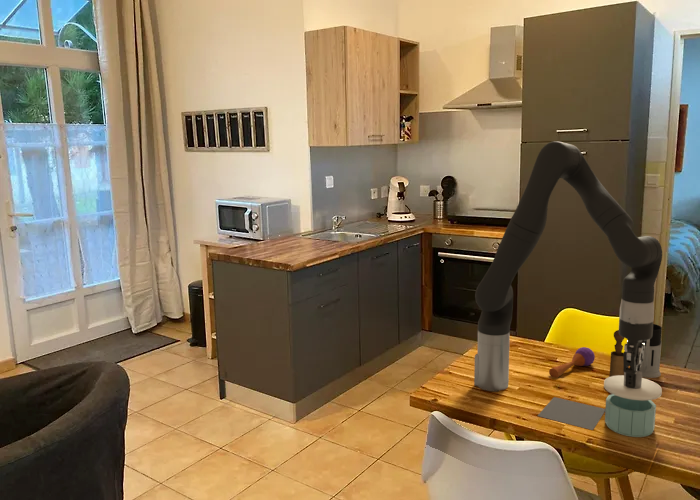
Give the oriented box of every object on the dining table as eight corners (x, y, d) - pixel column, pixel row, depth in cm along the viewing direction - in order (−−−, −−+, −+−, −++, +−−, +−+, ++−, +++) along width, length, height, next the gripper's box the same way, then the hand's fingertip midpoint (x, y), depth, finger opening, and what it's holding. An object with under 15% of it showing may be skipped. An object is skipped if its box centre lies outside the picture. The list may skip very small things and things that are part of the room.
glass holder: (660, 369, 183) (663, 323, 180) (662, 386, 171) (665, 337, 168) (629, 365, 187) (632, 320, 184) (629, 381, 174) (632, 334, 172)
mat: (537, 417, 153) (537, 415, 153) (553, 398, 164) (554, 396, 164) (592, 431, 145) (592, 430, 145) (606, 410, 156) (606, 409, 156)
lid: (598, 392, 143) (599, 375, 142) (610, 375, 153) (611, 359, 153) (657, 405, 135) (658, 387, 135) (665, 385, 146) (666, 369, 145)
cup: (600, 431, 145) (602, 405, 144) (610, 414, 154) (612, 389, 153) (649, 443, 139) (651, 416, 137) (657, 425, 147) (658, 399, 146)
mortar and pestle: (630, 395, 165) (634, 334, 162) (606, 393, 166) (610, 333, 163) (624, 385, 172) (628, 327, 168) (601, 384, 173) (604, 326, 170)
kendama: (543, 363, 181) (580, 344, 192) (547, 381, 181) (583, 361, 192) (560, 365, 176) (596, 345, 187) (563, 384, 176) (599, 363, 188)
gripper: (625, 308, 149) (622, 371, 152) (613, 322, 138) (609, 390, 141) (658, 312, 145) (653, 377, 148) (647, 327, 133) (643, 397, 136)
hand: (632, 383), depth 144 cm, fingers closed on lid, 4 cm apart
